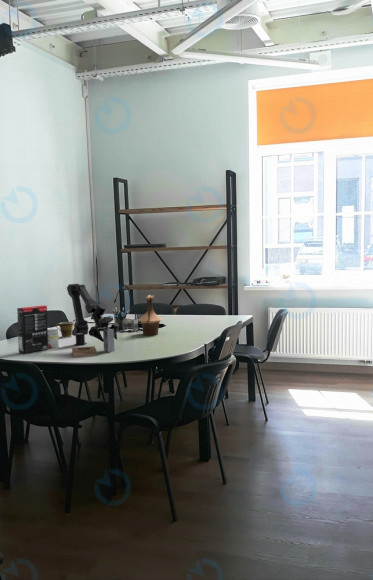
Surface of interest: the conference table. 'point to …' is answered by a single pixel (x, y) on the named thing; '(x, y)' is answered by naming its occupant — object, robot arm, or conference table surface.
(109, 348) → the grey rectangular block
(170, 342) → the conference table surface
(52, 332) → the ink box
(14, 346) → the conference table surface
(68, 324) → the ceramic cup
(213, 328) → the conference table surface
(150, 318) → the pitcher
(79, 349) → the post foot
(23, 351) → the graphics card box
